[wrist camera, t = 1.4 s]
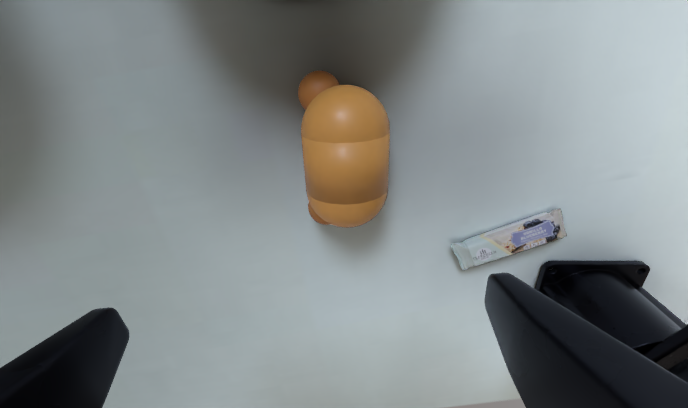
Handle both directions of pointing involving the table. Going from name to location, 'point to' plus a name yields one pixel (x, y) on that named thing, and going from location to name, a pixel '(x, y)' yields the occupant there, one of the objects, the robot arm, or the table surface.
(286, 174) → the table surface
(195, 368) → the table surface
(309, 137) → the croissant
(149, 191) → the table surface
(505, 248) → the granola bar
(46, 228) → the table surface
